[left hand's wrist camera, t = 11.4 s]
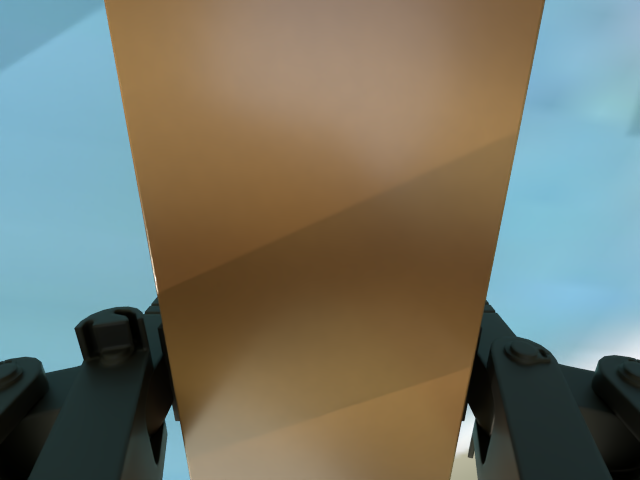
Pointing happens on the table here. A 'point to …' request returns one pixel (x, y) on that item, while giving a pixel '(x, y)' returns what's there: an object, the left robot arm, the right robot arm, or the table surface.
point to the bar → (322, 219)
